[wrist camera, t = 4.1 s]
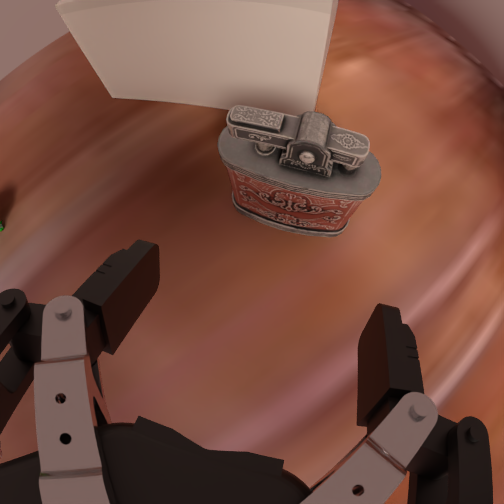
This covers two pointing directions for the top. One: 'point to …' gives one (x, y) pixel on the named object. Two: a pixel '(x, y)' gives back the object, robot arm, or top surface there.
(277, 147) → the lighter
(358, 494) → the robot arm
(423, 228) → the top surface
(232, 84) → the slot box
